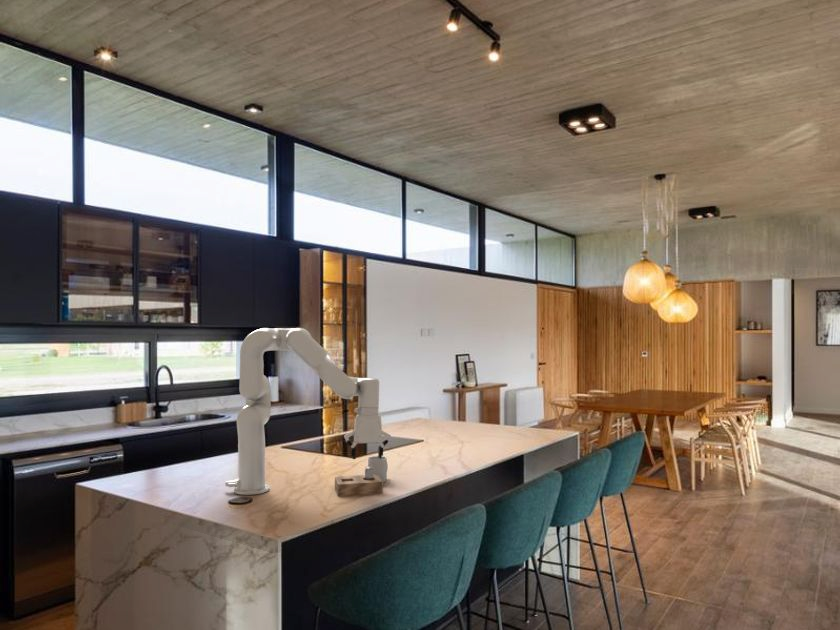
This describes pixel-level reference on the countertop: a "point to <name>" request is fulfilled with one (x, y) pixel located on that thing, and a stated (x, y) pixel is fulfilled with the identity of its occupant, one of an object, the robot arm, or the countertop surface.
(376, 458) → the cup
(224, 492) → the countertop surface
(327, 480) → the countertop surface
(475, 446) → the countertop surface
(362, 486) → the bore block
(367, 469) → the dowel
